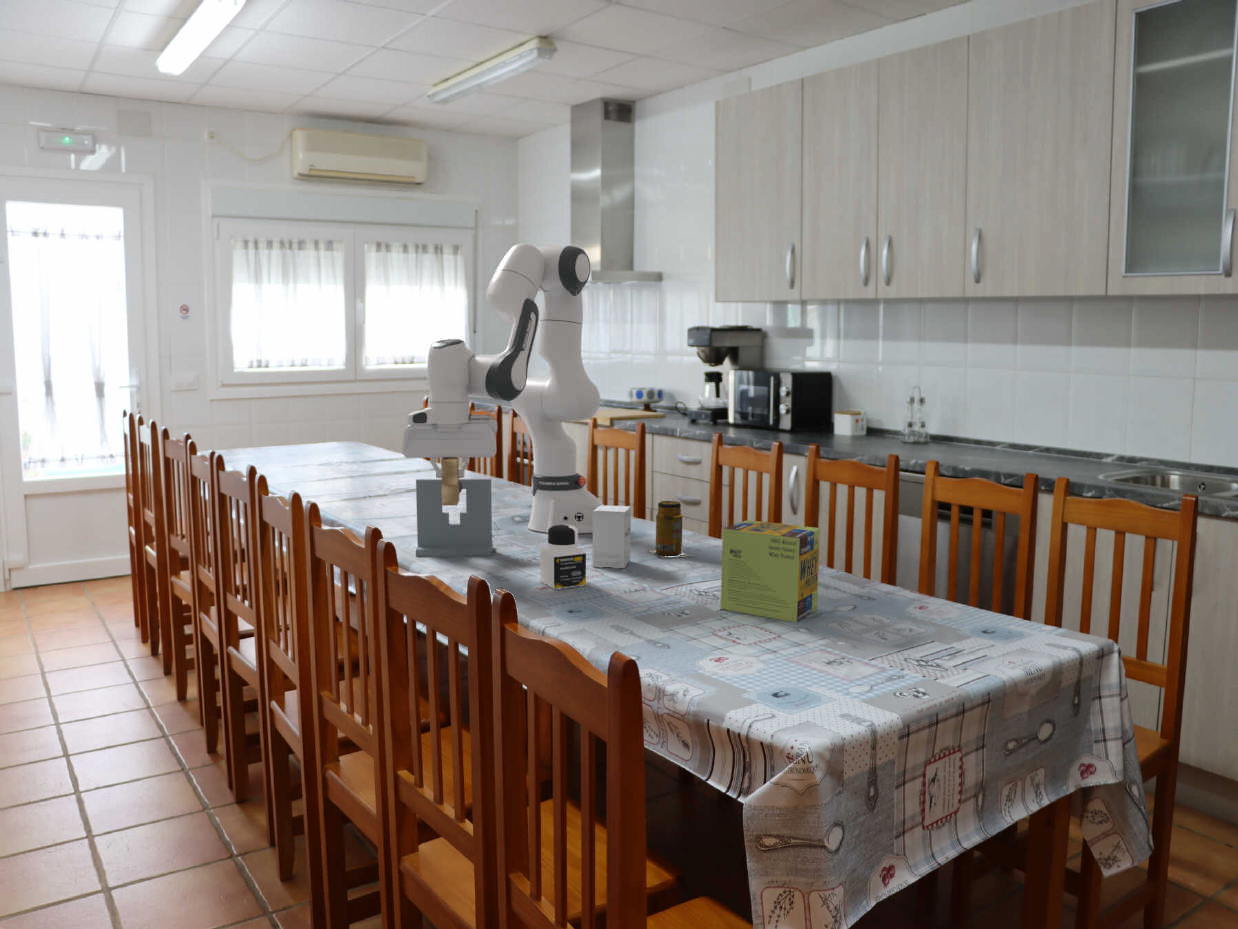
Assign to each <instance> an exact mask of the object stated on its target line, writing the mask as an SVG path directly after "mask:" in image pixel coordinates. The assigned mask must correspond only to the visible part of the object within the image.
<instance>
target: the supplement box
mask: <svg viewBox="0 0 1238 929" xmlns="http://www.w3.org/2000/svg"><path fill="white" fill-rule="evenodd" d="M631 511H632V507H631V506H629V505H604V506H599V507H598V508H596V509H595V510H594V511H593V533H592V567H594V568H603V567H613V568H612V569H619V568H624V569H625V568H626V566H627V565H628V564H629V563H630V561H631V535H632V534H631V533H632V532H631V527H632V526H631V525H632V524H631V522H632V521H631V518H632V513H631Z"/></svg>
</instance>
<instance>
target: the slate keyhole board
mask: <svg viewBox="0 0 1238 929" xmlns="http://www.w3.org/2000/svg"><path fill="white" fill-rule="evenodd" d="M459 480H460V481H461V483H462V486H463V487H462V490H465V499H466V500H465V502H466V504H465V505H466V506H465V507H466V508H465V509H466V511H460V512H459V523H450V512H448V511H446V512H445V511H443V506H442V478H426V479H425V478H422V479H421V478H419V479H418V478H416V479H415V488H416V489H415V490H416V492H415V493H416V494H415V496H416V531H417V532H416V533H417V535H416V536H417V537H416V538H417V539H416V540H417V547H416V548H415V557H445V556H446V557H449V556H450V557H455V556H456V557H457V556H458V557H459V556H462V557H463V556H466V555H467V556H492V552H493V548H494V541H493V527H492V525H493V518H492V517H493V516H492V514H493V512H492V511H493V510H492V509H493V508H492V478H459Z"/></svg>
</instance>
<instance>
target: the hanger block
mask: <svg viewBox="0 0 1238 929" xmlns="http://www.w3.org/2000/svg"><path fill="white" fill-rule="evenodd" d="M459 458H460V457H444V458H441V460H440V462H441V463H440V465H441V466H440V467H441V468H440V469H441V472H442V478H441V479H442V507H443V506H444V507H445V506H458V504H459V503H460V494H461V492H462V490H463V489H462V487H463V486H462V483H461V481H460V480H459V479H460V478H458V477H457V475H458V473H457V470H458V469H460V462H459V461H460V460H459Z"/></svg>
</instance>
